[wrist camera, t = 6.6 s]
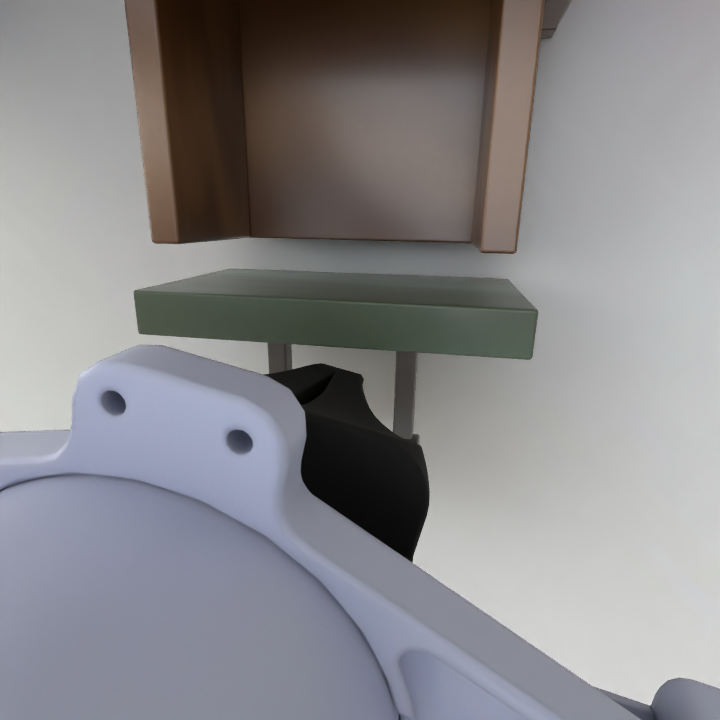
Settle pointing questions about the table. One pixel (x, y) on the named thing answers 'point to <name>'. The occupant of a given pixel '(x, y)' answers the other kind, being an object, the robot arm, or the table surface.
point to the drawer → (338, 166)
